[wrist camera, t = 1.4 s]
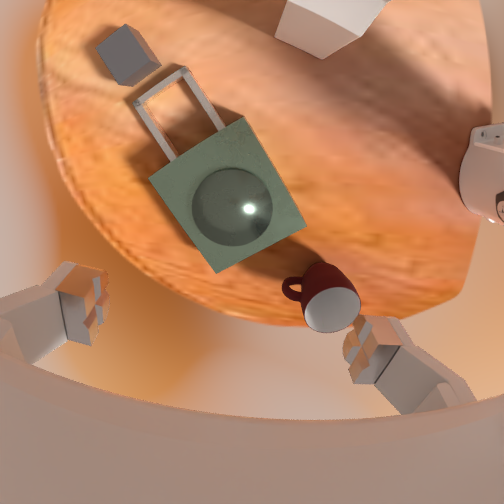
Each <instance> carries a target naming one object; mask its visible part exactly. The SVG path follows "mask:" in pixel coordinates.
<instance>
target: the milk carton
mask: <svg viewBox="0 0 504 504" xmlns="http://www.w3.org/2000/svg"><path fill="white" fill-rule="evenodd" d="M389 1H391V0H287V3H286V5H285V8H284V11H283V14H282V16H281V19H280V22H279V25H278V27H277V30H276V33H275V36H274V37H275V38H277V39H279V40H281V41H283V42H286V43H288V44H290V45H292V46H294V47H297V48H299V49H301V50H303V51H305V52H307V53H309V54H311V55H313V56H315V57H317V58H319V59H321V60H323V59H325V58H326V57H328V56H329V55H331V54H333V53H334V52H336V51H338V50H339V49H341V48H342V47H344V46H346V45H347V44H349V43H351V42H353V41H354V40H356V39H358V38H360V37H361V36H362V35H363V34H364V32H365V31H366V30H367V28H368V27H369V26H370V24H371V23H372V22H373V21H374V19H375V18H376V17H377V15H378V14H379V13H380V11H381V10H382V9H383V8H384V6H385V5H386V4H387V3H388V2H389Z"/></svg>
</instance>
